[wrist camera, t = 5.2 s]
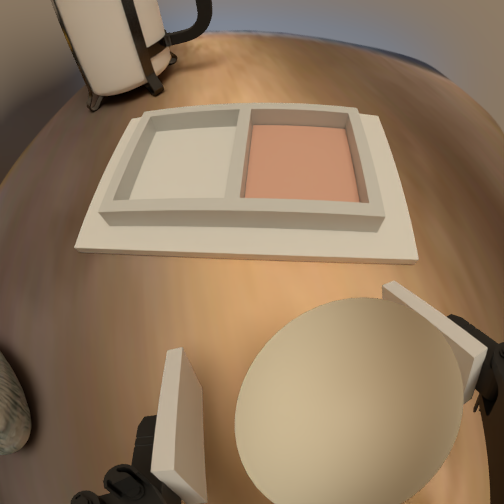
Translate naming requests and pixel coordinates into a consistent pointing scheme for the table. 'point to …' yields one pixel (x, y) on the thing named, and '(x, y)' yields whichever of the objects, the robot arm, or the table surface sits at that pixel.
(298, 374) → the peg
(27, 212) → the table surface
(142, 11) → the coffee press
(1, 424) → the yarn ball
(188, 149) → the white flat tray
